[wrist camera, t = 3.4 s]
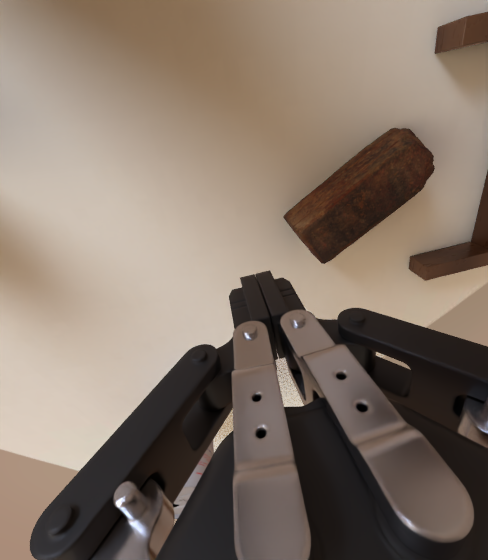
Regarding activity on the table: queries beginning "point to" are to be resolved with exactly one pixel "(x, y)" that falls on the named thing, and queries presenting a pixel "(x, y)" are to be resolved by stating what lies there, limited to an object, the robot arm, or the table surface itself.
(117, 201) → the table surface
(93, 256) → the table surface
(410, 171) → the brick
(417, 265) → the bracket
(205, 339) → the table surface
